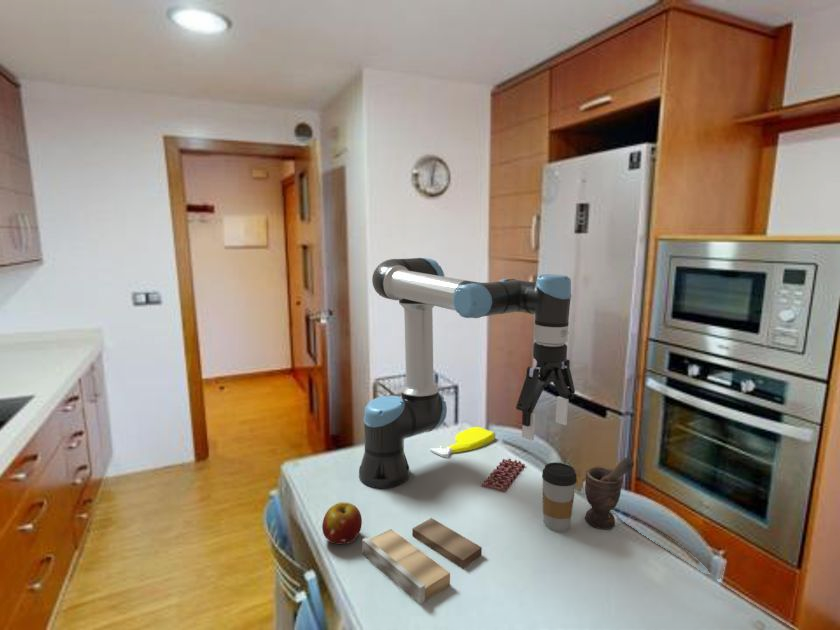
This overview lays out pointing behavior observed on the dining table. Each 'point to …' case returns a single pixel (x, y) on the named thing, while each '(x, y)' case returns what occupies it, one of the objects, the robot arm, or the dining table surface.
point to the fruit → (342, 523)
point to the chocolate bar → (503, 475)
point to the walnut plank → (447, 542)
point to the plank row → (406, 565)
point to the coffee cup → (558, 495)
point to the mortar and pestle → (604, 492)
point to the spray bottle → (466, 441)
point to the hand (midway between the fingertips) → (545, 430)
